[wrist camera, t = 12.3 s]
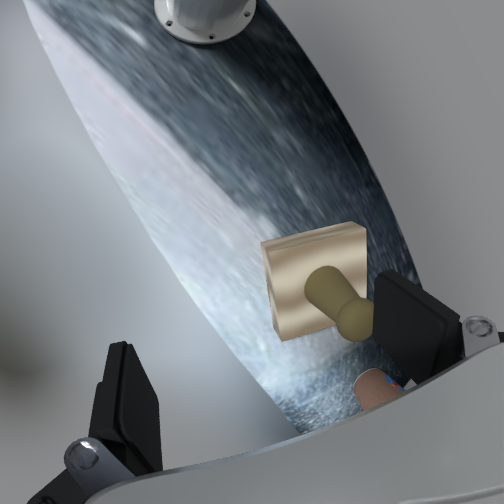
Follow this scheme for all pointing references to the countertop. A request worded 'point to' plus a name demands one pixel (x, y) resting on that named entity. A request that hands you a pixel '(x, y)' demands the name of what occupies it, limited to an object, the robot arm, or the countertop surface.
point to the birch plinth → (302, 265)
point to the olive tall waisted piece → (340, 303)
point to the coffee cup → (375, 388)
